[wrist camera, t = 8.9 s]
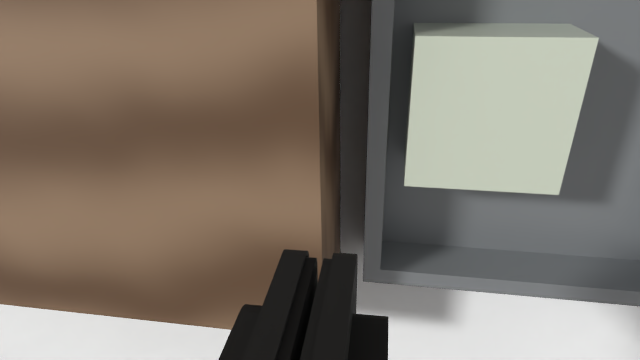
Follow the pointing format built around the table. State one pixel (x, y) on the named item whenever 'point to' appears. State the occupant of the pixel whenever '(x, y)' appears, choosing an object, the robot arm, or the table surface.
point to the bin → (510, 207)
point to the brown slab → (165, 152)
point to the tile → (494, 104)
